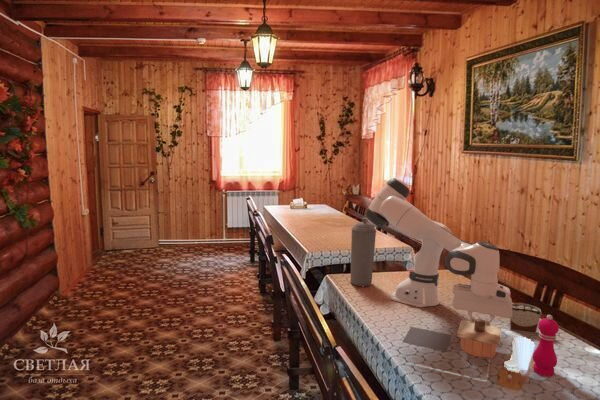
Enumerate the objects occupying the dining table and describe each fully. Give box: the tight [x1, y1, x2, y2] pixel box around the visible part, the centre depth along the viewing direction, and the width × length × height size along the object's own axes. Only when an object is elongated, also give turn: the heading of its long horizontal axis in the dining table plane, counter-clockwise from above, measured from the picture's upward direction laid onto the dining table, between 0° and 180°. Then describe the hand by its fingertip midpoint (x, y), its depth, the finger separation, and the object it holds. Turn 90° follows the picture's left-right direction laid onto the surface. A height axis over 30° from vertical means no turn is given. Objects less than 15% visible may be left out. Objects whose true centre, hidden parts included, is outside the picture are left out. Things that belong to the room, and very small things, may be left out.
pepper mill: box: [532, 314, 560, 377], centre depth 152 cm, size 7×7×20 cm
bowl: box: [459, 337, 497, 359], centre depth 167 cm, size 12×12×6 cm
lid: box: [456, 318, 502, 346], centre depth 166 cm, size 14×14×5 cm
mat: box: [402, 326, 453, 353], centre depth 175 cm, size 16×16×1 cm
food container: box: [509, 302, 543, 335], centre depth 187 cm, size 12×6×10 cm, turn 71°
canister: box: [350, 217, 377, 287], centre depth 237 cm, size 13×13×35 cm
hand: (480, 324), depth 166 cm, fingers open, 4 cm apart
